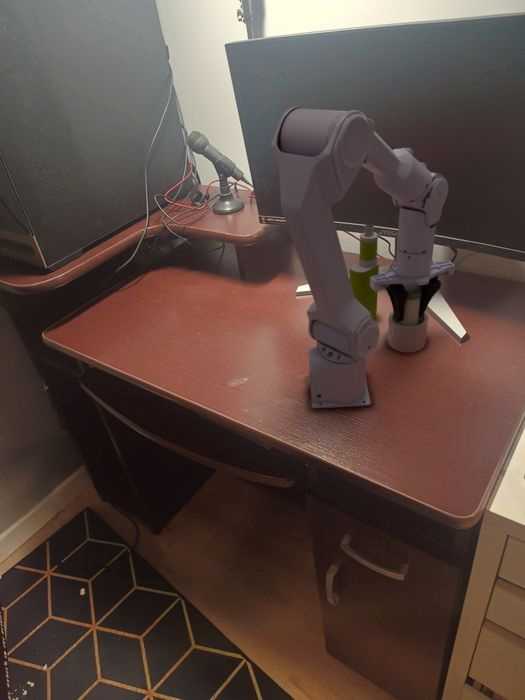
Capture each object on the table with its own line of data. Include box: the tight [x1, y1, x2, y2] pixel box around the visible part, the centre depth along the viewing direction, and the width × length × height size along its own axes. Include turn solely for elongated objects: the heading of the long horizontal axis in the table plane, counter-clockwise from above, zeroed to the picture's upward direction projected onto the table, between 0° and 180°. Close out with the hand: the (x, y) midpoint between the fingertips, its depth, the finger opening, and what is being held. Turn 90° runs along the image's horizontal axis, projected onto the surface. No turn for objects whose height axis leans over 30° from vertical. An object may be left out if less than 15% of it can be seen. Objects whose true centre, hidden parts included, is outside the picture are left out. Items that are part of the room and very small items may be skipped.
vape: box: [349, 223, 380, 322], centre depth 88 cm, size 4×6×20 cm, turn 129°
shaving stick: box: [398, 283, 422, 326], centre depth 83 cm, size 4×4×8 cm
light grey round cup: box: [387, 310, 429, 353], centre depth 86 cm, size 7×7×6 cm
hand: (408, 316), depth 84 cm, fingers closed on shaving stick, 3 cm apart
